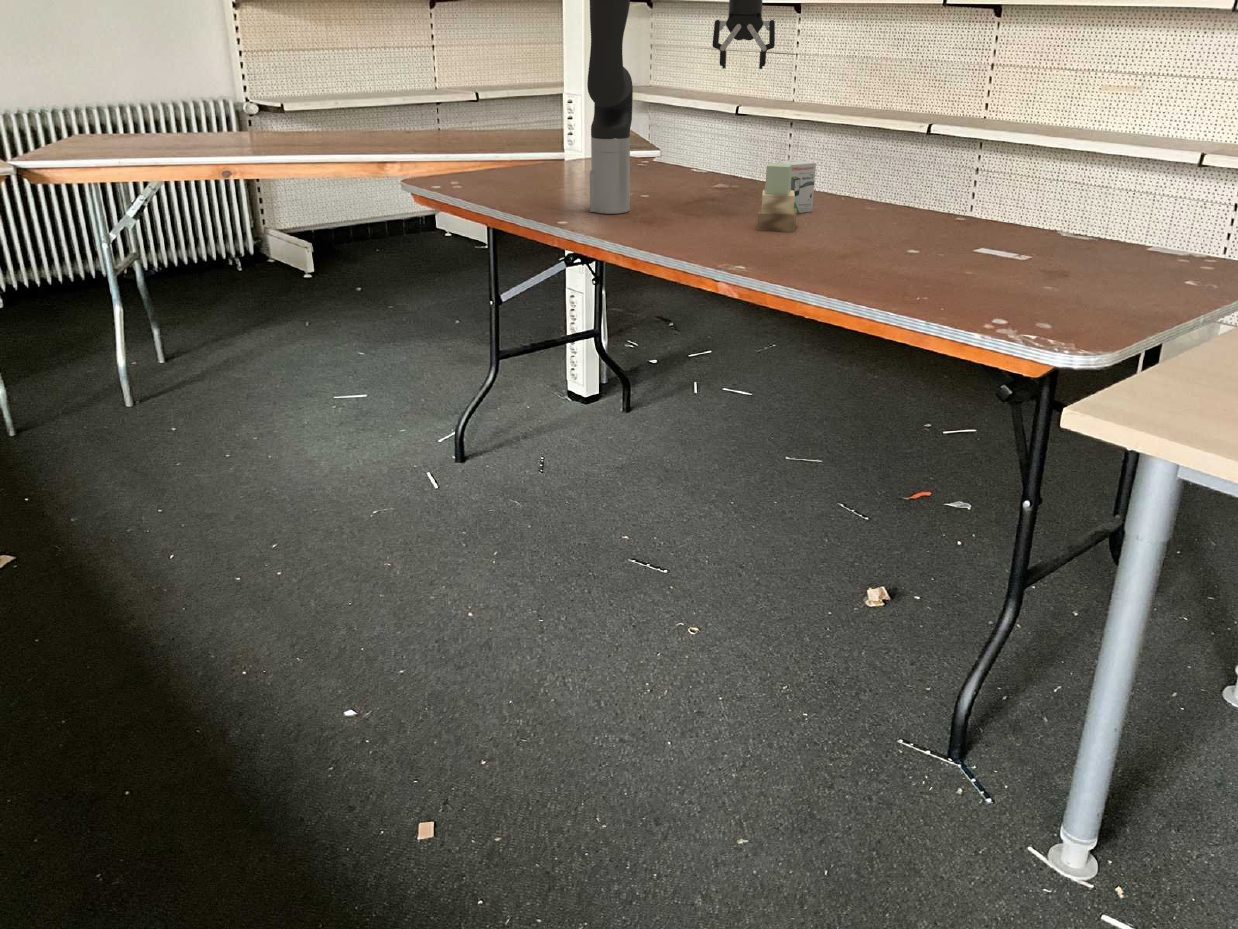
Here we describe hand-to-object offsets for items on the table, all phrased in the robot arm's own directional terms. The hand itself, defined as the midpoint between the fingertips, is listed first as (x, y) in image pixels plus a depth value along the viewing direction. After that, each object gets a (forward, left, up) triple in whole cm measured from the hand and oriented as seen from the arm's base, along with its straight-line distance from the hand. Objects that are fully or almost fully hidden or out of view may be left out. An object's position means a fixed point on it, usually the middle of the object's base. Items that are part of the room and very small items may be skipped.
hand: (742, 68), depth 227 cm
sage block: (+10, -22, -24) cm, 34 cm away
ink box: (+14, -2, -32) cm, 35 cm away
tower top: (+10, -22, -28) cm, 37 cm away
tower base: (+10, -22, -32) cm, 40 cm away
